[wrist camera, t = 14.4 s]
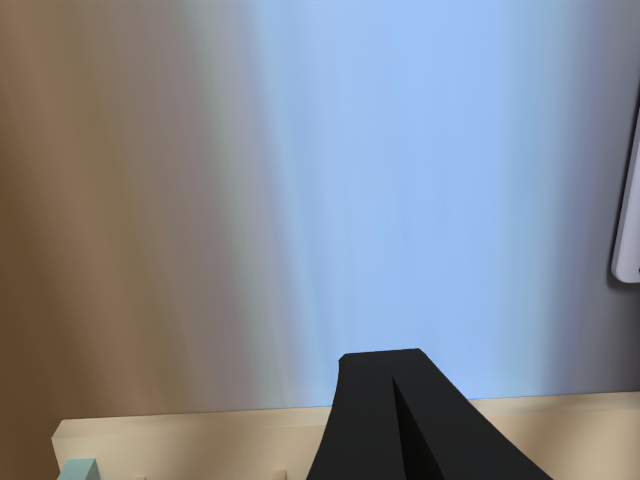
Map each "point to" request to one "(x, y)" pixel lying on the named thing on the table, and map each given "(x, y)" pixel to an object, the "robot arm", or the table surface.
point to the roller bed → (307, 431)
